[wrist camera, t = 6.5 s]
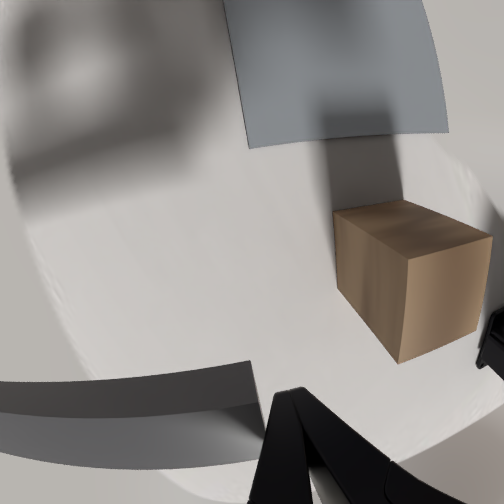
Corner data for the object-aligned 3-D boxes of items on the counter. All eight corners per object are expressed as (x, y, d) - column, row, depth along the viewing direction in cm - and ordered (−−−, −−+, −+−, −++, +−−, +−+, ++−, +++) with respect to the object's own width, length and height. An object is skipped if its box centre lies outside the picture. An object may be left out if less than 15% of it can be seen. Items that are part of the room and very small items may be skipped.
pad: (415, -14, 11) (416, -15, 11) (446, 133, 15) (449, 133, 14) (218, -28, 10) (218, -29, 10) (249, 148, 14) (249, 148, 14)
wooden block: (403, 199, 16) (492, 236, 9) (403, 271, 17) (476, 330, 11) (332, 211, 16) (408, 259, 9) (337, 288, 17) (397, 364, 11)
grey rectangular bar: (250, 360, 8) (258, 401, 6) (263, 418, 8) (271, 456, 7) (-33, 379, 7) (-49, 403, 5) (0, 424, 8) (-12, 448, 6)
